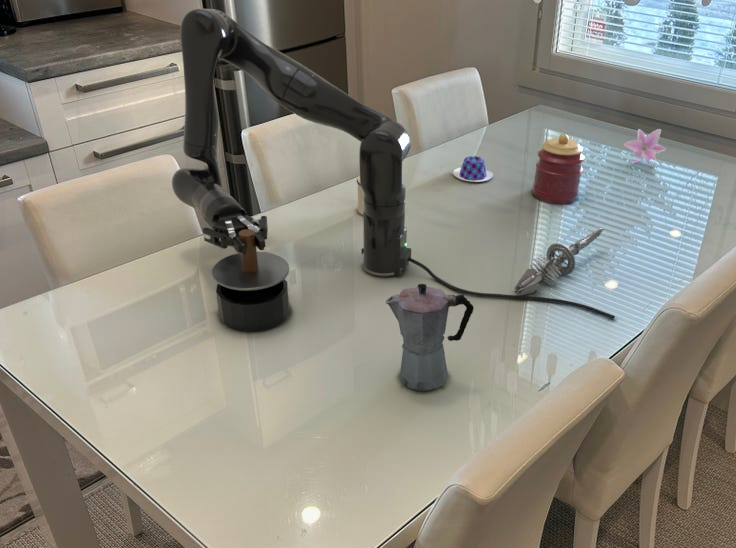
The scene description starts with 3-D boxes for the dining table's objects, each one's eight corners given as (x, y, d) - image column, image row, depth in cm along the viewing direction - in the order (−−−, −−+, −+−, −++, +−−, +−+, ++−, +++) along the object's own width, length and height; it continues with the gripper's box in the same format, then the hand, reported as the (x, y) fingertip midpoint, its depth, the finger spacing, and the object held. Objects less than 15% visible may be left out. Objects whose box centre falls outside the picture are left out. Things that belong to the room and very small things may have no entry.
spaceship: (622, 228, 175) (597, 207, 177) (535, 292, 156) (508, 268, 158) (607, 250, 181) (583, 230, 183) (521, 314, 162) (496, 290, 164)
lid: (300, 262, 151) (297, 221, 145) (271, 298, 139) (267, 256, 133) (232, 251, 153) (227, 211, 148) (198, 286, 141) (191, 244, 136)
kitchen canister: (584, 194, 211) (595, 133, 201) (566, 208, 202) (576, 146, 192) (543, 182, 216) (552, 123, 206) (524, 196, 207) (532, 135, 197)
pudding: (493, 185, 213) (495, 167, 210) (452, 182, 213) (454, 165, 210) (491, 169, 223) (493, 152, 219) (452, 167, 222) (453, 150, 219)
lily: (615, 159, 238) (622, 139, 229) (637, 139, 241) (645, 118, 233) (645, 180, 234) (653, 160, 226) (666, 159, 238) (675, 139, 229)
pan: (299, 301, 156) (297, 275, 152) (273, 337, 145) (270, 309, 141) (238, 291, 158) (235, 265, 154) (208, 325, 147) (203, 298, 143)
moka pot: (383, 362, 140) (384, 270, 128) (463, 361, 141) (471, 271, 130) (385, 393, 132) (386, 299, 120) (469, 392, 134) (478, 299, 122)
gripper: (186, 202, 146) (214, 237, 134) (253, 190, 152) (286, 222, 141) (191, 236, 150) (220, 273, 139) (256, 223, 157) (288, 257, 145)
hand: (253, 247), depth 140 cm, fingers closed on lid, 3 cm apart
